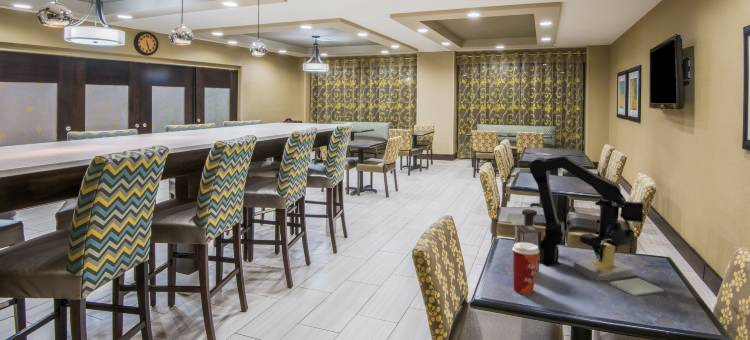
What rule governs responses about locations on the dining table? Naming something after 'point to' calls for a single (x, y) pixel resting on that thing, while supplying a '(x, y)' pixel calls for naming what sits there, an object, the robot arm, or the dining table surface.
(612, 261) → the peg
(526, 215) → the bolt
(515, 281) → the coffee cup
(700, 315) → the dining table surface
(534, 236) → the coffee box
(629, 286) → the pad
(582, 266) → the square hole plate
